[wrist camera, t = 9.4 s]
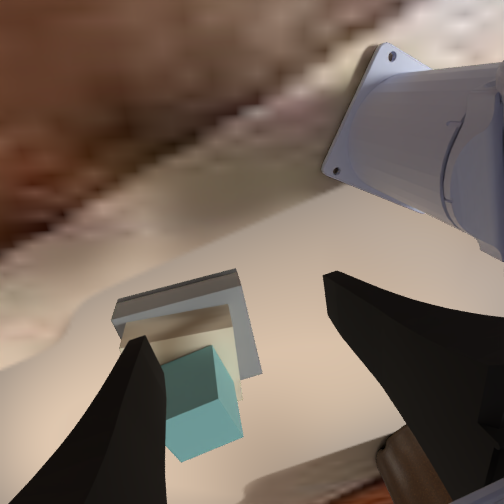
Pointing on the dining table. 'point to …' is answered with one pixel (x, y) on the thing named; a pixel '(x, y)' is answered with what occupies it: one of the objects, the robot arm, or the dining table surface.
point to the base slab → (192, 298)
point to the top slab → (189, 337)
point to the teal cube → (199, 404)
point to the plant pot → (409, 471)
